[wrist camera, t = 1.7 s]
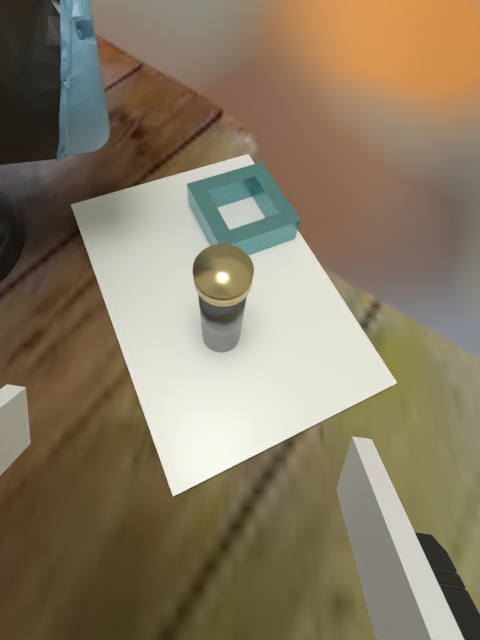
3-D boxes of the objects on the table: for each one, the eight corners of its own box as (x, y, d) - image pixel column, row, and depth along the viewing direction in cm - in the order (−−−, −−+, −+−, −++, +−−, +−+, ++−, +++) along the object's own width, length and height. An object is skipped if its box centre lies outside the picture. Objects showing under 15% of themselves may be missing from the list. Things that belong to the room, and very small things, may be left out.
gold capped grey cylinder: (193, 324, 33) (183, 255, 23) (231, 310, 34) (238, 236, 24) (210, 361, 32) (207, 304, 21) (249, 344, 33) (264, 282, 22)
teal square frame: (188, 204, 39) (186, 183, 36) (258, 182, 41) (261, 161, 39) (220, 265, 36) (220, 248, 33) (294, 238, 38) (300, 220, 35)
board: (74, 210, 39) (70, 204, 38) (247, 160, 44) (248, 154, 43) (174, 495, 28) (173, 496, 27) (392, 385, 33) (397, 382, 32)
